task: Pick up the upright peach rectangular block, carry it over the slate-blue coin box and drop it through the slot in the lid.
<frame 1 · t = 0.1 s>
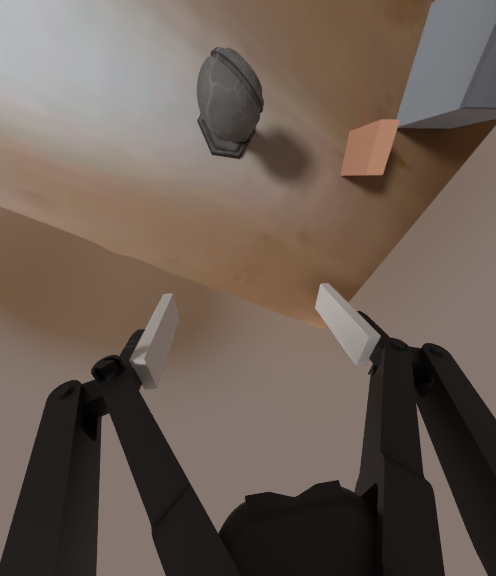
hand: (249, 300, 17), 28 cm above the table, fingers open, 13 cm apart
peach rectangular block: (352, 154, 36), on the table
figurine: (226, 126, 32), on the table
coin box: (442, 74, 31), on the table
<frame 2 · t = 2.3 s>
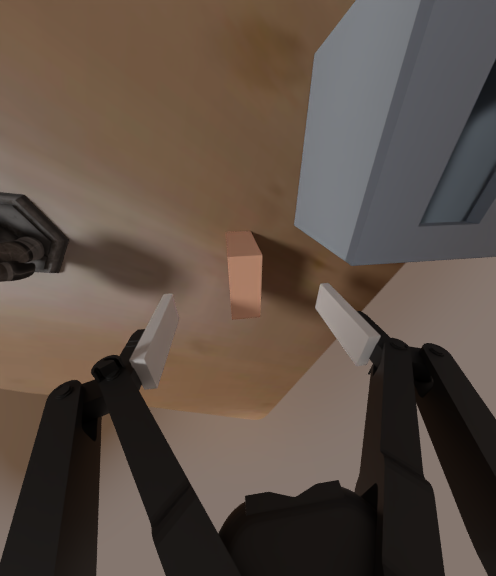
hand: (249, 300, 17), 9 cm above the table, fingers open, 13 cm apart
peach rectangular block: (239, 258, 24), on the table
figurine: (18, 235, 20), on the table
coin box: (356, 156, 20), on the table
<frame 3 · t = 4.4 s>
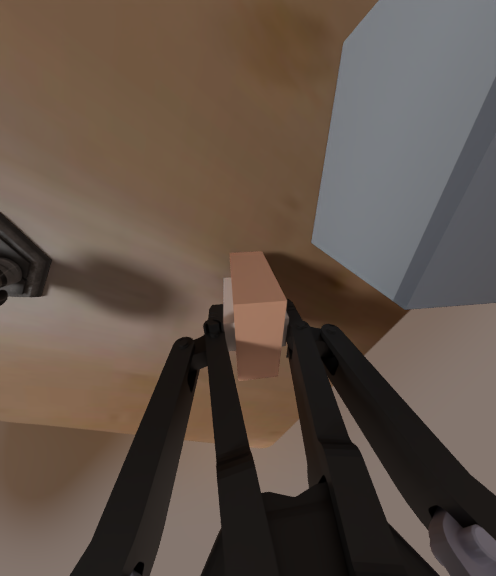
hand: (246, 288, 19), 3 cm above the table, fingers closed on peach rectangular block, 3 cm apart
peach rectangular block: (246, 284, 19), point 2 cm above the table, touching gripper
coin box: (387, 163, 17), on the table
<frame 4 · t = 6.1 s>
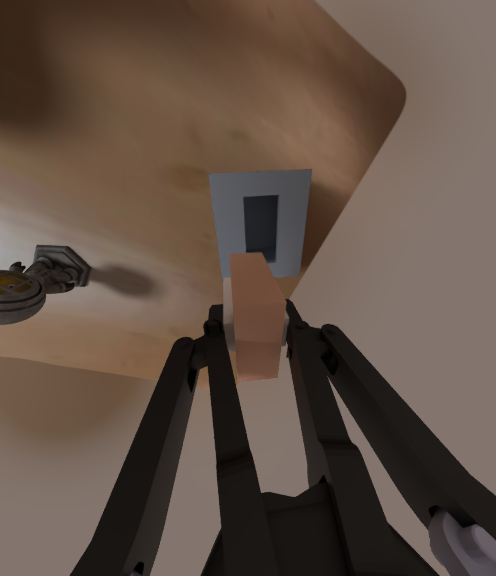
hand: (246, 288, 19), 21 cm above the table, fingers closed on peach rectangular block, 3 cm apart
peach rectangular block: (246, 285, 19), point 20 cm above the table, touching gripper
figurine: (63, 266, 36), on the table
coin box: (250, 216, 35), on the table
when the fingers open (14 cm above the table, at t = 7.6 s): peach rectangular block drops 12 cm, resting on coin box.
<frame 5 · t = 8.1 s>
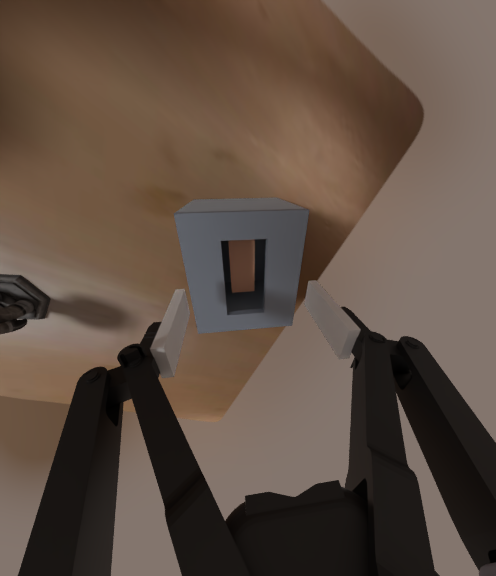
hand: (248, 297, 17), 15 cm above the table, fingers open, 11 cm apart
peach rectangular block: (238, 246, 29), point 1 cm above the table, touching coin box
figurine: (17, 297, 31), on the table
coin box: (238, 246, 30), on the table
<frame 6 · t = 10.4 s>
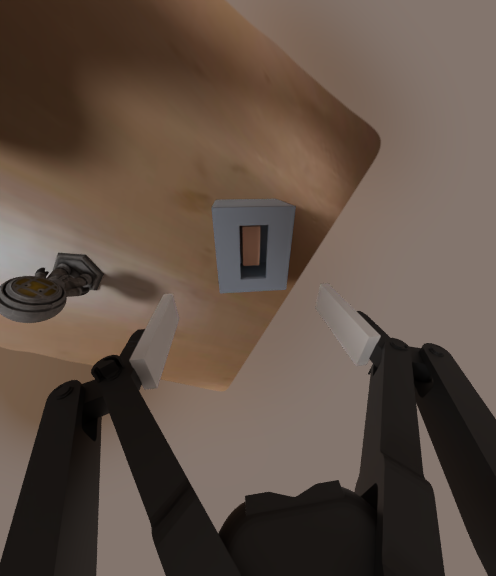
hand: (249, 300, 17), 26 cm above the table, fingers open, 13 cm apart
peach rectangular block: (246, 235, 39), point 1 cm above the table, touching coin box
figurine: (79, 272, 40), on the table
coin box: (246, 235, 40), on the table
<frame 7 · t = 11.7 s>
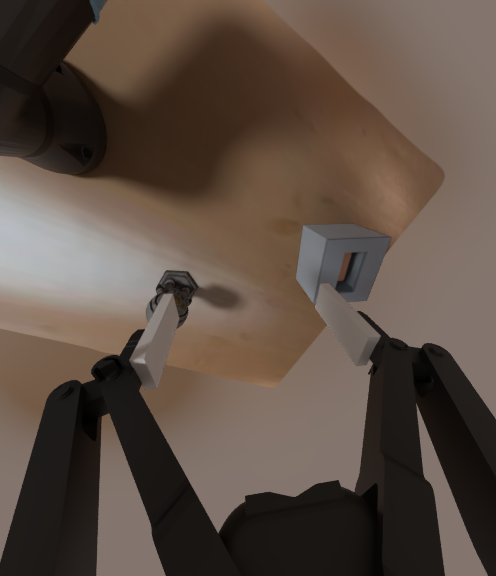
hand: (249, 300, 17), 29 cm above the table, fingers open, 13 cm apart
peach rectangular block: (323, 253, 46), point 1 cm above the table, touching coin box
figurine: (178, 285, 47), on the table
coin box: (322, 252, 47), on the table
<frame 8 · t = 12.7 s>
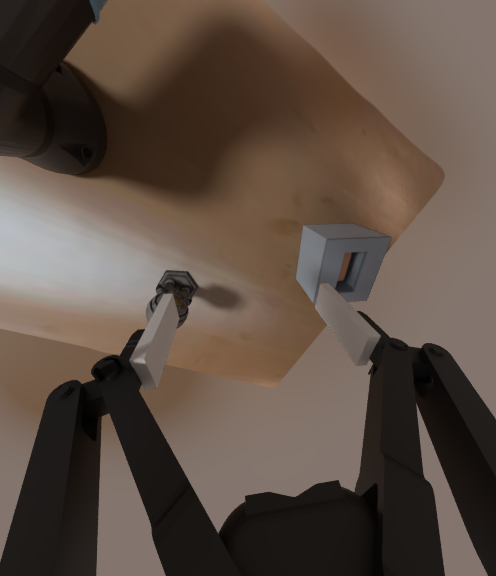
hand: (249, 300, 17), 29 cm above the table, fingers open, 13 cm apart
peach rectangular block: (323, 253, 46), point 1 cm above the table, touching coin box
figurine: (178, 285, 47), on the table
coin box: (322, 252, 47), on the table
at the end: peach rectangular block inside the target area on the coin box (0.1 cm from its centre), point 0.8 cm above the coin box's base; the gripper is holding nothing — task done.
